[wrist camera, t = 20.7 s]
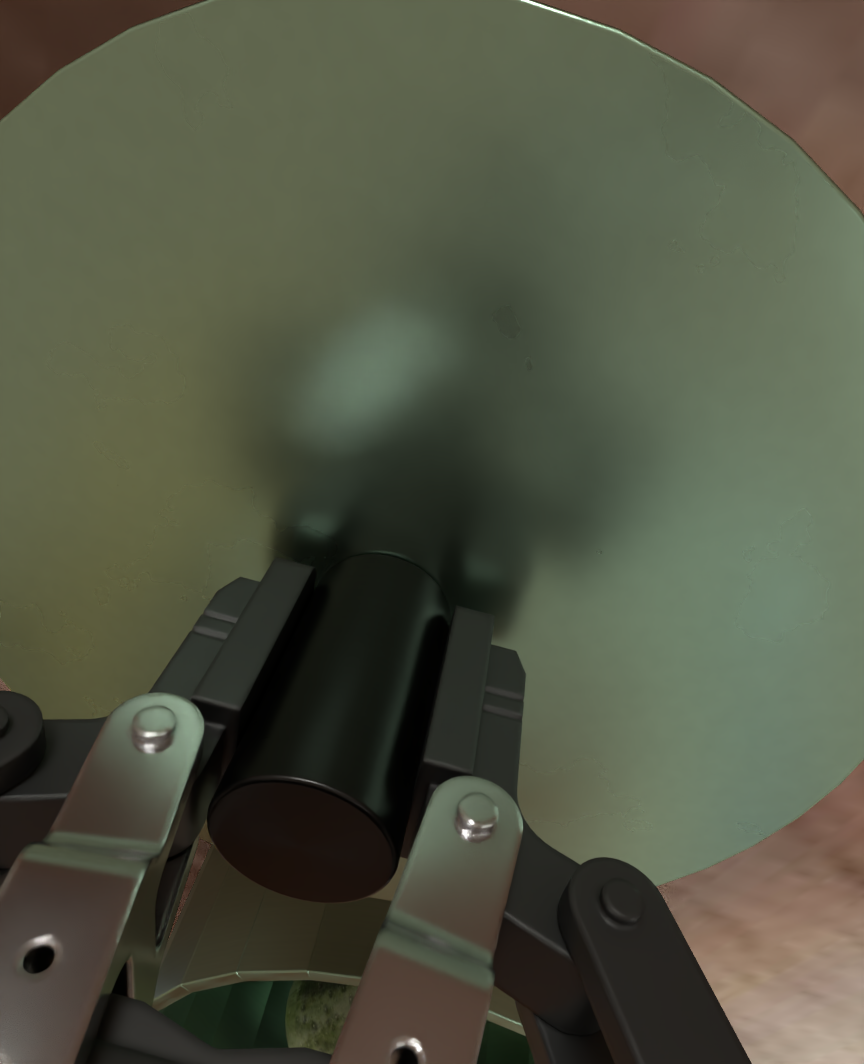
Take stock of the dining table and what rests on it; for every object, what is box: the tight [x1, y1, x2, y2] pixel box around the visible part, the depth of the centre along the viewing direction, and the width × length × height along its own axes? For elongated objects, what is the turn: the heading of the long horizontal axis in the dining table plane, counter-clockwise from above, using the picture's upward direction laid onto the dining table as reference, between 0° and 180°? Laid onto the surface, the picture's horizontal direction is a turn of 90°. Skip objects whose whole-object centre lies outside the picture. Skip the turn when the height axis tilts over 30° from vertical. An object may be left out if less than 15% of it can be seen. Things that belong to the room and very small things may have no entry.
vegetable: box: [285, 980, 358, 1055], centre depth 29 cm, size 14×5×5 cm, turn 147°
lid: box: [0, 0, 864, 903], centre depth 12 cm, size 19×19×6 cm
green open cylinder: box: [152, 844, 535, 1064], centre depth 29 cm, size 18×18×8 cm
